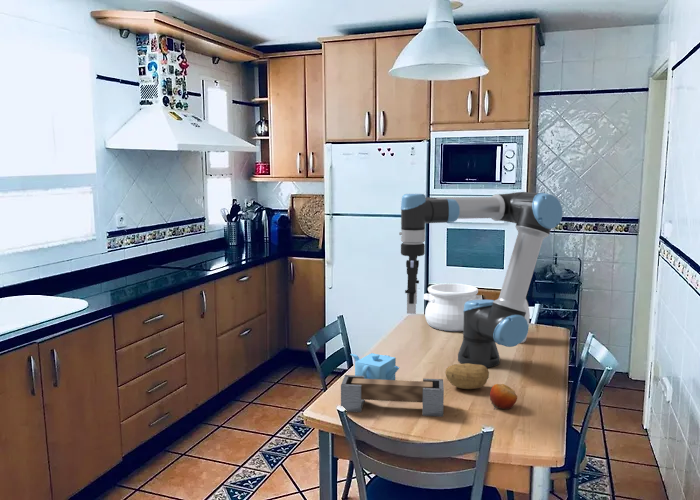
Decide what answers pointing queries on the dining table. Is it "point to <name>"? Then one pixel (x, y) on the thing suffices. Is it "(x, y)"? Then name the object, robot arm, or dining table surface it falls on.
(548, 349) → the dining table surface
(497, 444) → the dining table surface
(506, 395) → the fruit
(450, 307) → the pot
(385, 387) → the rail
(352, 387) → the bracket
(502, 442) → the dining table surface
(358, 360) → the teapot
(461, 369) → the potato
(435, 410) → the bracket
